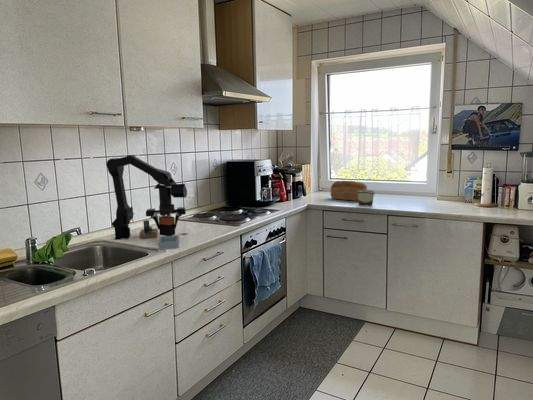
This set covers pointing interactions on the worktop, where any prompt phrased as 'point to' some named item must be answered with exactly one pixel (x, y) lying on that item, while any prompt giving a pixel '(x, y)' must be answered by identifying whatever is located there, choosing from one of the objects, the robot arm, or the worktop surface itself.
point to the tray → (168, 242)
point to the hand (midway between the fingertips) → (167, 228)
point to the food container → (365, 197)
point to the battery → (167, 225)
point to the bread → (346, 190)
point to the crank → (146, 228)
